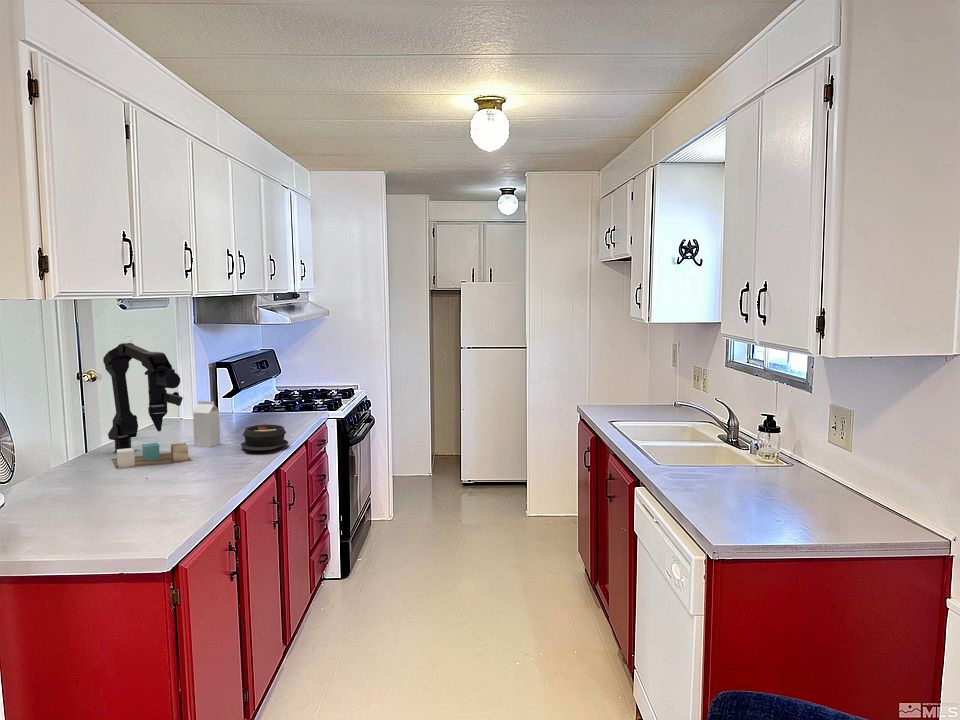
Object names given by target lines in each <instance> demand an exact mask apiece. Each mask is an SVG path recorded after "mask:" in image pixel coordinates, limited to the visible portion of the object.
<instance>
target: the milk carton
mask: <svg viewBox="0 0 960 720" xmlns="http://www.w3.org/2000/svg"><path fill="white" fill-rule="evenodd" d="M192 414H193V415H192V417H193V446H194V447H198V448H199V447H200V448H212V447H215V446H217V445H220V443H221V441H220V440H221V437H220V410H219V408H218V407H217V406H216V405H215V401H207V400H206V401H205V400H198V401H197V405H196V407H195V408H194V410H193V413H192Z"/></svg>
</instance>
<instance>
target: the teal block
mask: <svg viewBox="0 0 960 720" xmlns="http://www.w3.org/2000/svg"><path fill="white" fill-rule="evenodd" d="M141 446H142V447H141V448H142V456H143V460H144V461H154V460H160V455H159V454H160V444H159V443H158V442H151V443H142V445H141Z"/></svg>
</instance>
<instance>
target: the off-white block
mask: <svg viewBox="0 0 960 720" xmlns="http://www.w3.org/2000/svg"><path fill="white" fill-rule="evenodd" d="M134 456H135V450H134V448H133V447H131V448H127V449H117V452H116V458H117V465H118V467H119V468H120V467H129V466H135V460H134Z"/></svg>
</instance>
